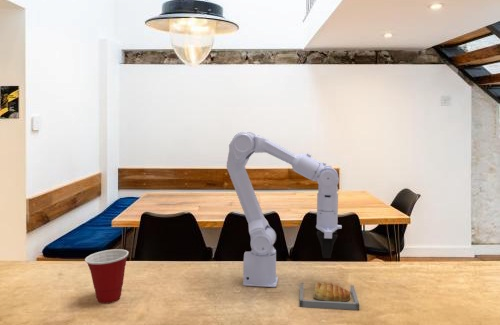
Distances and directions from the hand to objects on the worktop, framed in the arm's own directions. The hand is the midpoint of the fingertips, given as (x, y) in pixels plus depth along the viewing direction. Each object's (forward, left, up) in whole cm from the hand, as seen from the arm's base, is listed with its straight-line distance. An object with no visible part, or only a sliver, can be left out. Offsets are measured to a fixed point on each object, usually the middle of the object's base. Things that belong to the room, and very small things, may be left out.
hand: (326, 257), depth 117 cm
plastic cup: (-57, -17, -9) cm, 60 cm away
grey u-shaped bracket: (0, -8, -8) cm, 12 cm away
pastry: (+1, -8, -9) cm, 12 cm away
